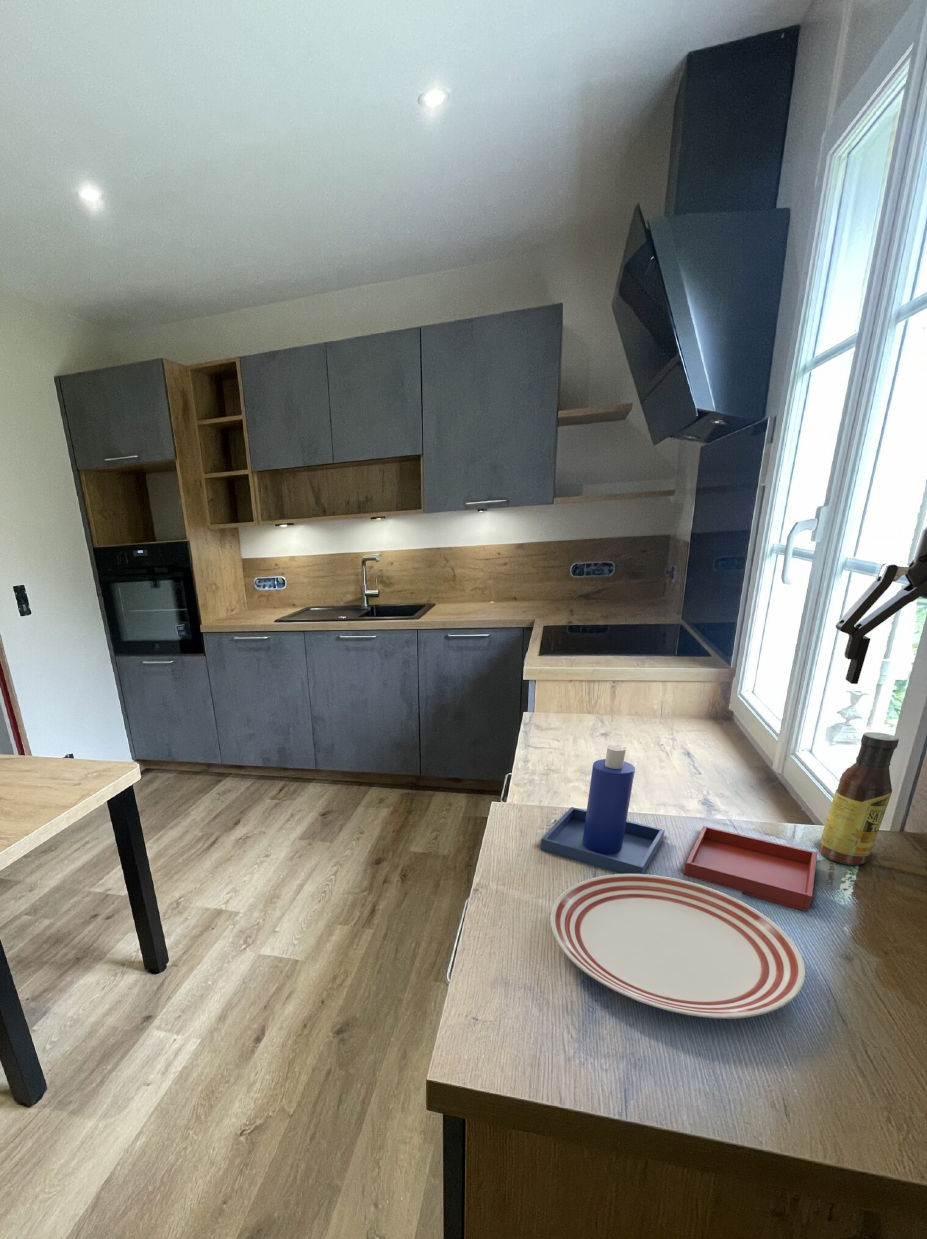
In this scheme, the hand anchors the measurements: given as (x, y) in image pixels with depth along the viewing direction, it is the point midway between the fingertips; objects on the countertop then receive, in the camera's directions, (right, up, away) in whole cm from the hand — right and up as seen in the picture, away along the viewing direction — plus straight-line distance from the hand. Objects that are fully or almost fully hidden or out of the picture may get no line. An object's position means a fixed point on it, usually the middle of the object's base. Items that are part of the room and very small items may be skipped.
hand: (910, 684), depth 87 cm
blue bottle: (-38, -24, +13) cm, 47 cm away
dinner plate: (-41, -35, -11) cm, 55 cm away
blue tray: (-38, -25, +13) cm, 48 cm away
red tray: (-20, -28, +5) cm, 34 cm away
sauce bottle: (-3, -26, +8) cm, 27 cm away
